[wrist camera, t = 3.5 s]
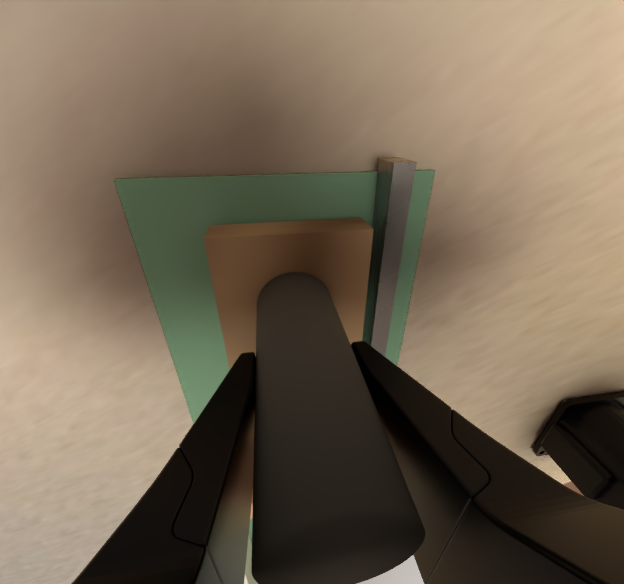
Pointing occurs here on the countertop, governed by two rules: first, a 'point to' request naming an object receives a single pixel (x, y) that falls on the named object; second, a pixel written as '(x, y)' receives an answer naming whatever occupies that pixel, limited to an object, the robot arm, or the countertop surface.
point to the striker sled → (311, 402)
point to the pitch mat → (236, 210)
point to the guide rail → (387, 246)
